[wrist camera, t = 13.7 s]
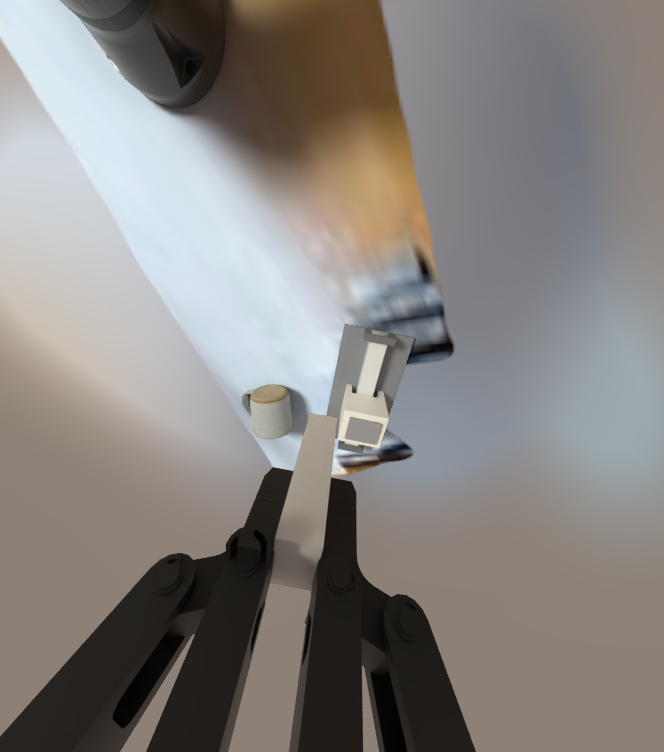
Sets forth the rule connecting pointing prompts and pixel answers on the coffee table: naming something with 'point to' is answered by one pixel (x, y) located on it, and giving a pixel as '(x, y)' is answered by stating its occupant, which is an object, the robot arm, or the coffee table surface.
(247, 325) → the coffee table surface
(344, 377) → the rail base
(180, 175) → the coffee table surface
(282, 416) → the ceramic mug
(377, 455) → the coffee table surface
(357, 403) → the module
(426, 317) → the coffee table surface
